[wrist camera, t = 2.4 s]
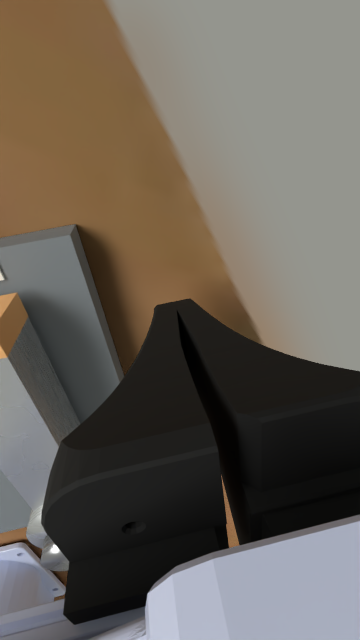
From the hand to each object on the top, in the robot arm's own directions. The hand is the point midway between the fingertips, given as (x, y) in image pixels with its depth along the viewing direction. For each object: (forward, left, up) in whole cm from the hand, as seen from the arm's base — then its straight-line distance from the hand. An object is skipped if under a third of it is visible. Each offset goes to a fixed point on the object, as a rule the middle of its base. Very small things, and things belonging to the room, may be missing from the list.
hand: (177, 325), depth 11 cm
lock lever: (-4, +7, -1) cm, 8 cm away
